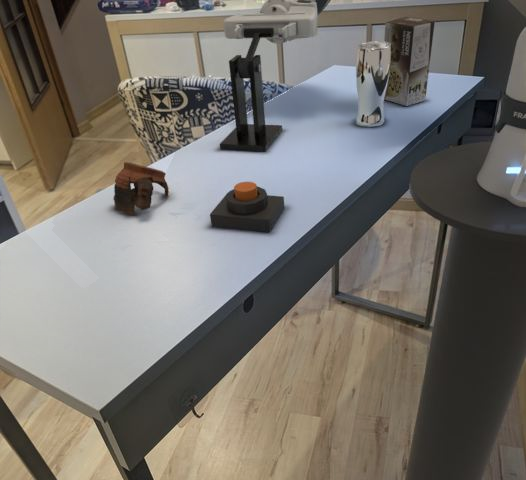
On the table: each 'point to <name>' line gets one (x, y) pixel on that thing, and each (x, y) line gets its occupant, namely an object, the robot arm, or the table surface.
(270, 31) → the lever handle
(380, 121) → the beer glass
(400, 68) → the coffee box
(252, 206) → the control block
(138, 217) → the table surface
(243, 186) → the button
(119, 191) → the brown arched piece
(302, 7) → the robot arm
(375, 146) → the table surface
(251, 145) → the black headphone stand
